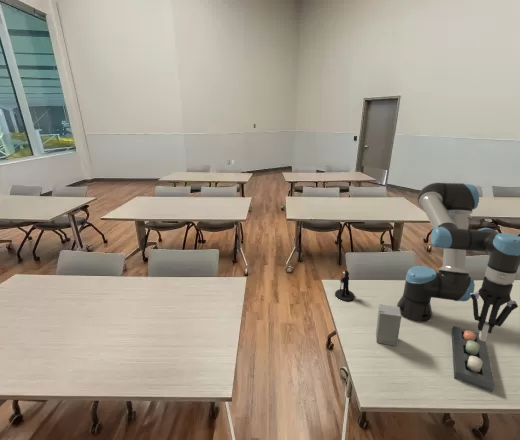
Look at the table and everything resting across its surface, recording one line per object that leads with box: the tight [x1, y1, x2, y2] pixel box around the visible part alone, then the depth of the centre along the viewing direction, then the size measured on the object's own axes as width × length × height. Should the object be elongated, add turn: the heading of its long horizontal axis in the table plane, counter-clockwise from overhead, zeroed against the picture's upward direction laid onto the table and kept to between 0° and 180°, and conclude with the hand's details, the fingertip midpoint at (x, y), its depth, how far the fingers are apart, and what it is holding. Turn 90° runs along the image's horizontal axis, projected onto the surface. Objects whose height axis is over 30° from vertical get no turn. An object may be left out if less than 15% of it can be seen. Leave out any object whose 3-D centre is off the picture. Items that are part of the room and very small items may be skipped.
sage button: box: [465, 340, 480, 355], centre depth 110 cm, size 4×4×4 cm
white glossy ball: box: [467, 356, 483, 372], centre depth 103 cm, size 4×4×4 cm
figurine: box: [334, 270, 355, 302], centre depth 150 cm, size 10×10×15 cm
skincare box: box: [375, 303, 403, 347], centre depth 119 cm, size 8×7×16 cm
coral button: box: [463, 329, 476, 341], centre depth 118 cm, size 4×4×4 cm
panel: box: [451, 325, 495, 393], centre depth 111 cm, size 11×28×4 cm, turn 149°
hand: (481, 338), depth 101 cm, fingers closed
